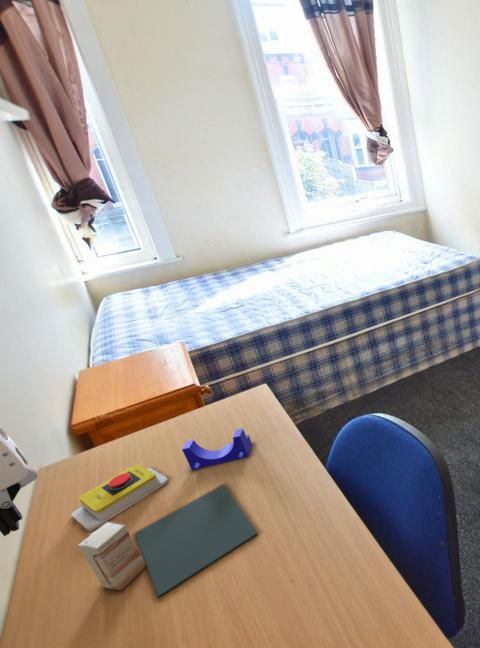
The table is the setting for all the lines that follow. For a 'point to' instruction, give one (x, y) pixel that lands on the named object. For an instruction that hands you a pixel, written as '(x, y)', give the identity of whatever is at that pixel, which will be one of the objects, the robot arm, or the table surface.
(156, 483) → the emergency button
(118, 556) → the printed medicine box
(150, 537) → the mat
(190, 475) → the table surface
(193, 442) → the cable clip
